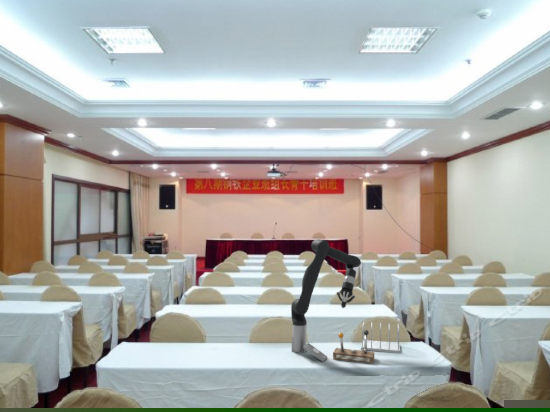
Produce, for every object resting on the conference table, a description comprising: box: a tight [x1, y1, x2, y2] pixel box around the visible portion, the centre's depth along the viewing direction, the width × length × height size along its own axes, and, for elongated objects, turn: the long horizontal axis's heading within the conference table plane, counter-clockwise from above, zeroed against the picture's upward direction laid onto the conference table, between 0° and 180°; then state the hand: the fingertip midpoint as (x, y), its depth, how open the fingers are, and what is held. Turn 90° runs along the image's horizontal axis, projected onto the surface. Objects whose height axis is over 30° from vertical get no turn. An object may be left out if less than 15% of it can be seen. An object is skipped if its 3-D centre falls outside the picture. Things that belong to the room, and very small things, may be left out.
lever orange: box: [337, 332, 345, 351], centre depth 253 cm, size 3×3×14 cm
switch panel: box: [332, 347, 375, 365], centre depth 253 cm, size 24×10×5 cm, turn 71°
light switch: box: [303, 342, 328, 363], centre depth 254 cm, size 8×6×14 cm
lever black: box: [363, 329, 370, 353], centre depth 254 cm, size 3×3×14 cm
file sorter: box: [360, 321, 401, 354], centre depth 276 cm, size 25×17×16 cm
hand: (343, 307), depth 273 cm, fingers closed
